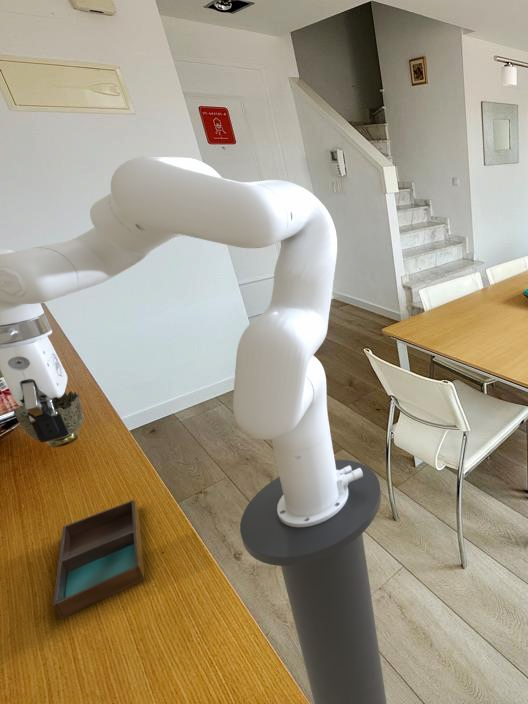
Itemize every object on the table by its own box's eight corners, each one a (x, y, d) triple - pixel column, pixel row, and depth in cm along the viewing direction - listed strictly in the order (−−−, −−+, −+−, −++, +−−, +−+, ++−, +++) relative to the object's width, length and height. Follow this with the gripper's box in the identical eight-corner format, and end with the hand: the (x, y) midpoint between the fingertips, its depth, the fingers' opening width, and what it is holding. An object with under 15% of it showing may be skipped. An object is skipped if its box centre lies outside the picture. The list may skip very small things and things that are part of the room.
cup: (55, 459, 67) (35, 417, 64) (20, 453, 68) (-1, 412, 65) (105, 432, 74) (89, 393, 71) (72, 427, 75) (55, 388, 72)
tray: (139, 512, 77) (134, 499, 76) (144, 580, 65) (138, 566, 64) (69, 539, 71) (62, 526, 70) (60, 620, 59) (52, 605, 58)
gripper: (41, 340, 60) (85, 442, 66) (54, 310, 72) (91, 398, 78) (-41, 355, 55) (15, 463, 61) (-12, 320, 67) (32, 413, 74)
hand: (57, 426), depth 70 cm, fingers closed on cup, 7 cm apart
